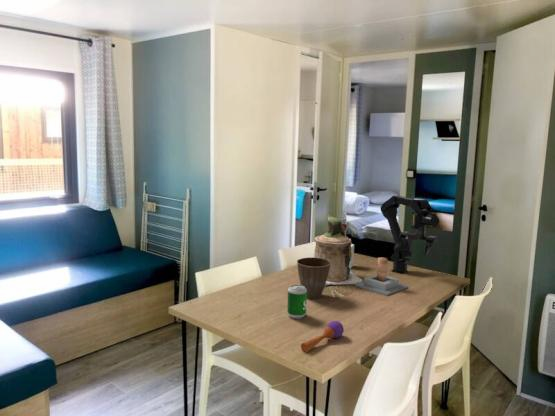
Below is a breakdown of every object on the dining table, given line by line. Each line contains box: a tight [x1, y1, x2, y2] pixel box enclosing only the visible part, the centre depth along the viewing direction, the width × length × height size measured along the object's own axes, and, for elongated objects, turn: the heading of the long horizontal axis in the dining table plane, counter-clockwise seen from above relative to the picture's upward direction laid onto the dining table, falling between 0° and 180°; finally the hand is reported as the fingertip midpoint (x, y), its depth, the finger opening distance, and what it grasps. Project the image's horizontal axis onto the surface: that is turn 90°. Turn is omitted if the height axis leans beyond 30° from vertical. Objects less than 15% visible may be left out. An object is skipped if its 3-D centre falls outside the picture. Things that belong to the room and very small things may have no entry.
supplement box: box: [349, 243, 355, 270], centre depth 252 cm, size 7×7×13 cm
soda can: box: [286, 284, 308, 320], centre depth 181 cm, size 8×8×12 cm
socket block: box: [354, 273, 408, 296], centre depth 219 cm, size 18×18×4 cm
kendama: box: [300, 320, 344, 354], centre depth 158 cm, size 6×6×20 cm
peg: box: [376, 257, 388, 282], centre depth 218 cm, size 4×4×13 cm
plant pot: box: [296, 257, 331, 300], centre depth 203 cm, size 15×15×16 cm
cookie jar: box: [313, 215, 363, 286], centre depth 230 cm, size 25×25×32 cm
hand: (417, 253), depth 232 cm, fingers open, 9 cm apart
